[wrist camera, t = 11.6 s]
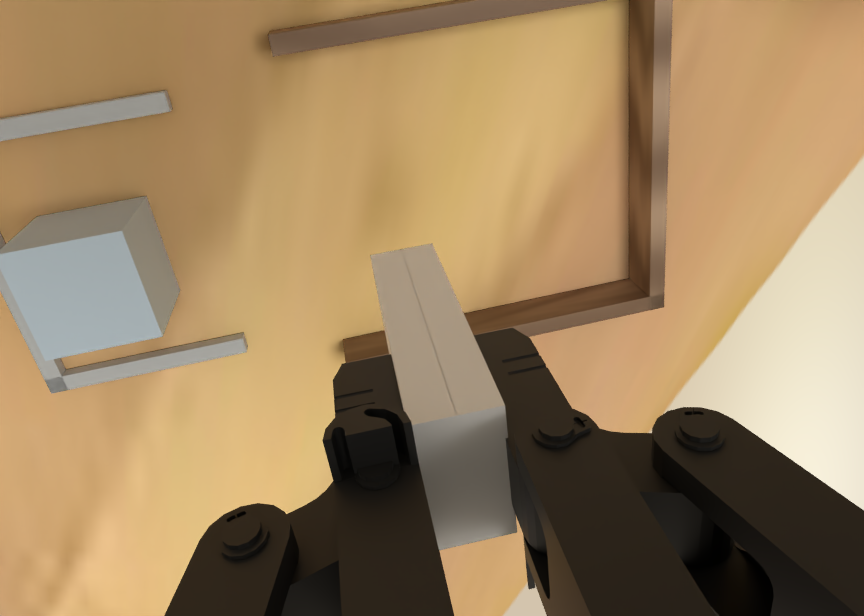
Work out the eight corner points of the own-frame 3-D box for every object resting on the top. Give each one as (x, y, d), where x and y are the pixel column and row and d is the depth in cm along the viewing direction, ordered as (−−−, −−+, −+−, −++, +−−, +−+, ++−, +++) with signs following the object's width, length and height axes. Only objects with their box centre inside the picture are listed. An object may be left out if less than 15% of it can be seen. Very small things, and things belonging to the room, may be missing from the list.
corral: (-71, 130, 34) (-79, 133, 33) (166, 89, 35) (164, 92, 34) (55, 386, 41) (51, 393, 40) (247, 345, 42) (246, 352, 41)
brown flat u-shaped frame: (270, 30, 34) (267, 34, 32) (646, -32, 37) (673, -33, 34) (345, 352, 44) (348, 376, 41) (642, 288, 46) (664, 307, 43)
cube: (37, 216, 37) (-7, 255, 31) (146, 195, 37) (121, 230, 32) (79, 310, 39) (45, 361, 34) (180, 289, 40) (162, 336, 35)
